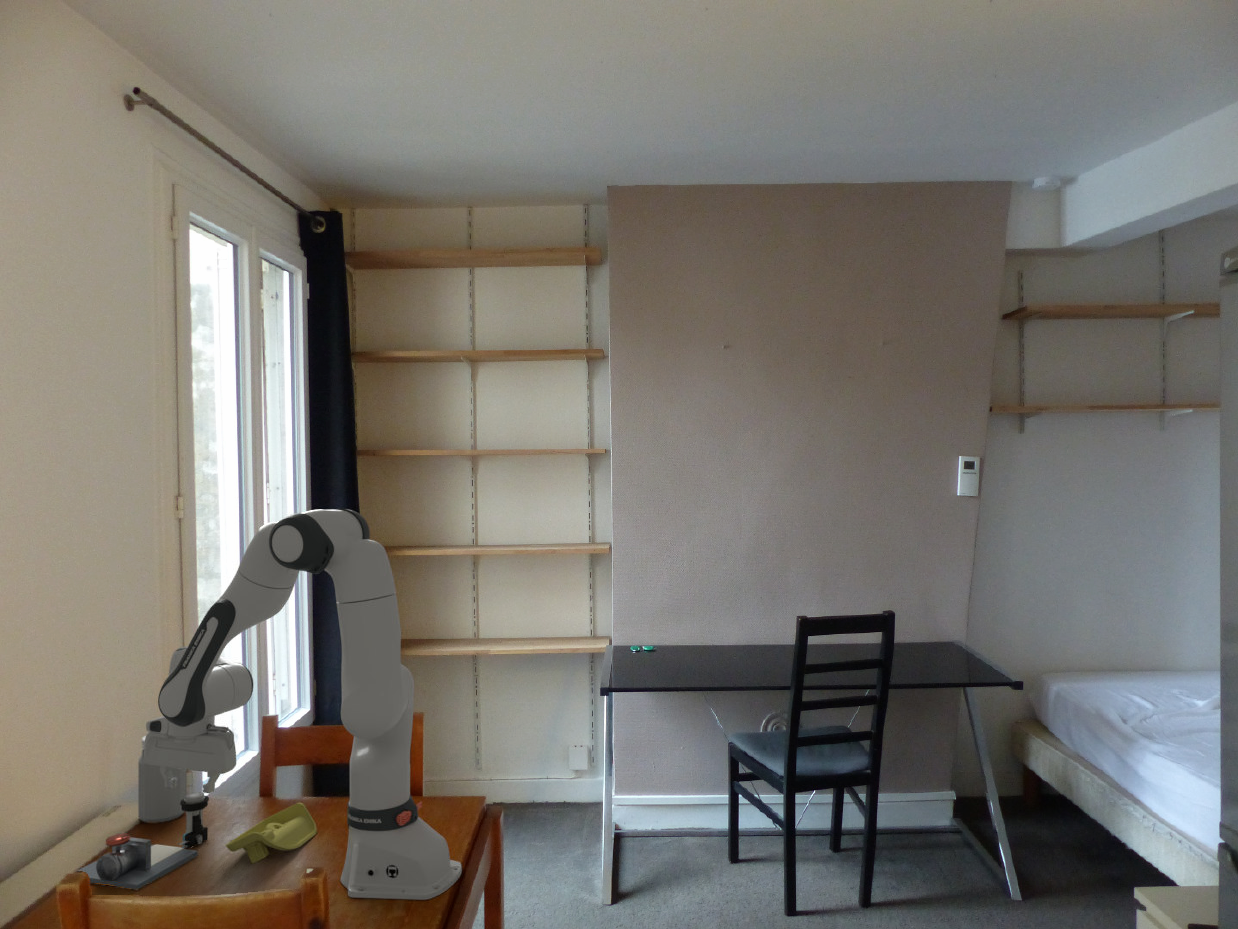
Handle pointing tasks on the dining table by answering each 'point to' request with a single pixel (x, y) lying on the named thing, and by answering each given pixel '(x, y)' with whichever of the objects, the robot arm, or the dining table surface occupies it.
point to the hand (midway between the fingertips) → (189, 790)
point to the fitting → (124, 856)
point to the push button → (194, 819)
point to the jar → (159, 793)
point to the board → (161, 864)
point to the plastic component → (276, 833)
